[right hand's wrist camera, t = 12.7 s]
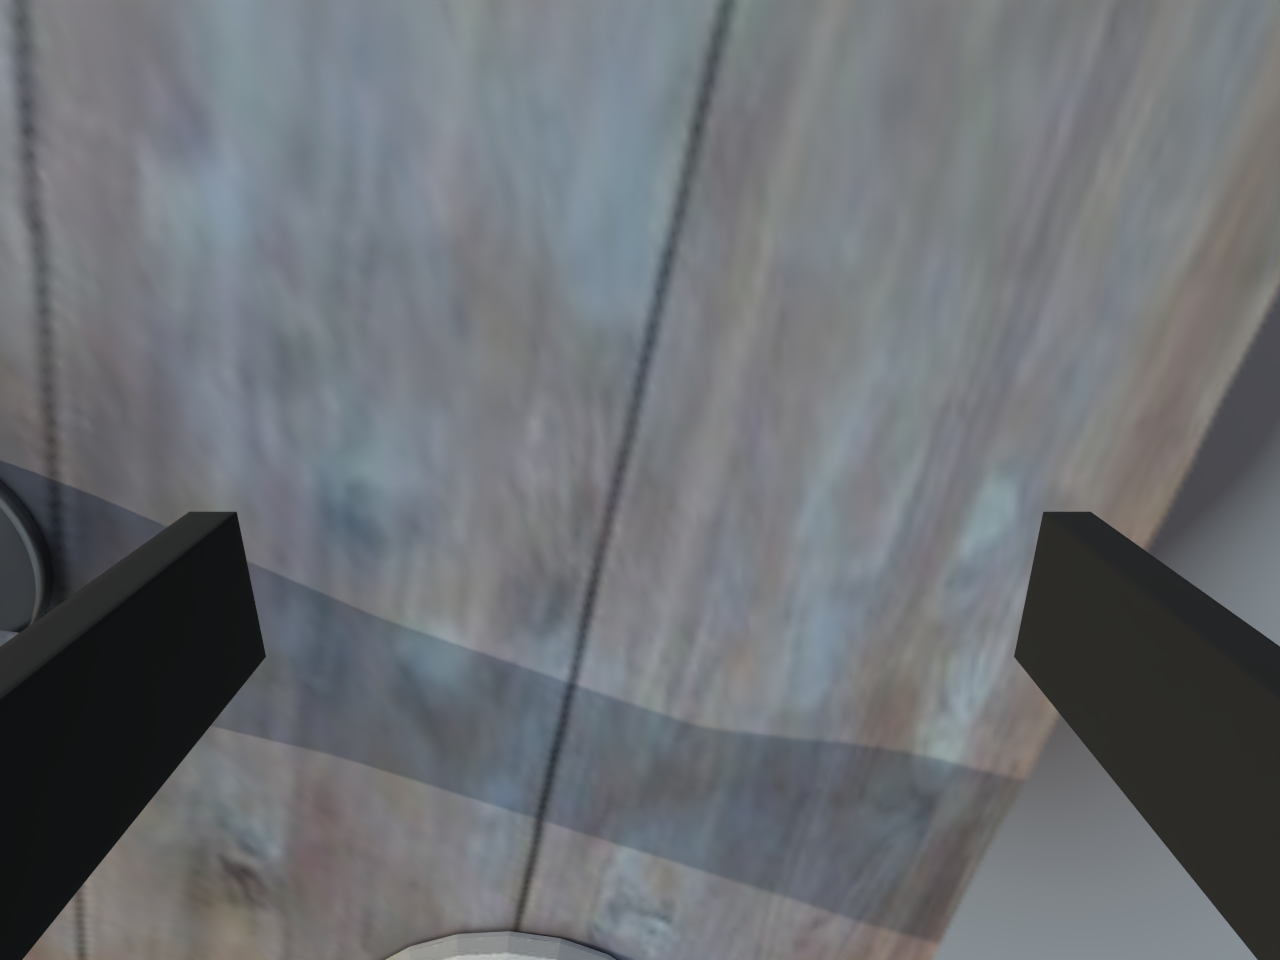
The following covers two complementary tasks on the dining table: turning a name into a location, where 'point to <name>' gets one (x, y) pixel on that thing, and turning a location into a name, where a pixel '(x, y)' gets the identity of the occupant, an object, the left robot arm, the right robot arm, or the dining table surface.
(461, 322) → the dining table surface
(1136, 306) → the dining table surface
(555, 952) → the wall clock
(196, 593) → the right robot arm
